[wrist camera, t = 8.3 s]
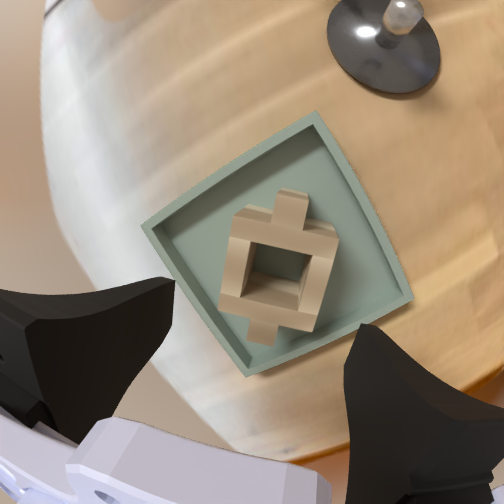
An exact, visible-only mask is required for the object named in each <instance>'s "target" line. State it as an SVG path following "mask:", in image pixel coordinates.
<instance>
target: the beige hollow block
mask: <svg viewBox="0 0 504 504" xmlns="http://www.w3.org/2000/svg"><path fill="white" fill-rule="evenodd" d="M308 203H309V198H308V193H306V192H301V191H297V190H292V189H288V188H283V187H282V188H281V189H280V191H279V192H278V193H277V194H276V199H275V204H274V209H268V208H264V207H259V206H254V205H250V204H248V205H247V206H245V207H244V208H243V209H241V210H240V211H239V212H237V213H236V214H235V215H233V219H232V225H231V231H230V237H229V242H228V248H227V254H226V260H225V266H224V272H223V278H222V285H221V291H220V297H219V303H218V310H219V311H223V312H227V313H230V314H234V315H238V316H242V317H247V318H251V319H250V323H249V328H248V333H247V337H246V340H247V341H251V342H255V343H259V344H263V345H267V346H272V347H273V345H274V341H275V337H276V334H277V330H278V326H279V325H280V326H285V327H289V328H294V329H299V330H303V331H308V332H312V331H313V328H314V325H315V322H316V319H317V316H318V312H319V309H320V306H321V303H322V299H323V296H324V293H325V289H326V286H327V283H328V279H329V276H330V272H331V269H332V265H333V262H334V258H335V254H336V251H337V247H338V243H339V237H338V235H337V233H336V231H335V229H334V227H333V225H332V223H330V222H326V221H322V220H317V219H313V218H309V217H306V212H307V208H308ZM258 243H261V244H265V245H270V246H274V247H278V248H283V249H287V250H292V251H296V252H300V253H305V254H306V257H305V261H304V265H303V269H302V273H301V277H300V281H296V280H292V279H287V278H283V277H278V276H274V275H270V274H265V273H261V272H257V271H253V267H254V262H255V257H256V252H257V247H258Z"/></svg>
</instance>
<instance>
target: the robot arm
mask: <svg viewBox="0 0 504 504" xmlns="http://www.w3.org/2000/svg"><path fill="white" fill-rule="evenodd" d="M174 291H175V280H172V279H168V278H164V277H155V278H150V279H146V280H142V281H138V282H135V283H131V284H127V285H123V286H119V287H115V288H110V289H106V290H101V291H96V292H90V293H81V294H67V295H38V294H27V293H20V292H13V291H8V290H3V289H0V488H1V489H2V490H3V491H4V492H5V493H6V494H8V495H9V496H10V497H11V498H12V499H13V500H14V501H16V502H17V504H331V499H332V498H331V497H332V495H331V492H332V489H331V488H332V485H331V484H330V483H329V482H328V481H326V480H325V479H324V478H323V477H322V476H321V475H320V474H319V473H317V472H316V471H314V470H312V469H308V468H305V467H301V466H298V465H295V464H291V463H288V462H284V461H279V460H273V459H268V458H262V457H257V456H253V455H248V454H244V453H239V452H235V451H231V450H226V449H223V448H219V447H215V446H212V445H208V444H205V443H201V442H198V441H195V440H192V439H188V438H185V437H182V436H179V435H175V434H173V433H170V432H167V431H164V430H162V429H159V428H156V427H154V426H151V425H148V424H146V423H142V422H138V421H133V420H129V419H125V418H121V417H112V415H113V413H114V411H115V409H116V408H117V406H118V404H119V402H120V401H121V399H122V397H123V395H124V394H125V392H126V390H127V389H128V387H129V386H130V384H131V383H132V381H133V380H134V378H135V377H136V376H137V375H138V373H139V372H140V371H141V370H142V368H143V367H144V366H145V364H146V363H147V362H148V361H149V360H150V358H151V357H152V356H153V354H154V353H155V352H156V351H157V349H158V348H159V347H160V345H161V344H162V342H163V341H164V339H165V337H166V335H167V334H168V332H169V330H170V328H171V326H172V317H173V303H174ZM344 394H345V401H346V409H347V416H348V424H349V433H350V461H349V475H348V486H347V494H346V501H345V504H504V484H503V485H500V486H498V487H496V488H494V489H493V490H491V489H490V486H489V483H491V482H492V481H493V479H494V477H493V474H492V470H493V469H494V468H495V467H496V466H497V464H498V463H499V462H500V461H501V460H502V459H503V458H504V408H501V407H497V406H494V405H491V404H488V403H485V402H483V401H480V400H478V399H475V398H473V397H471V396H469V395H467V394H465V393H462V392H461V391H459V390H457V389H455V388H453V387H452V386H450V385H448V384H446V383H445V382H443V381H442V380H440V379H439V378H437V377H436V376H434V375H433V374H431V373H430V372H429V371H427V370H426V369H425V368H423V367H422V366H421V365H420V364H419V363H417V362H416V361H415V360H414V359H413V358H411V357H410V356H409V355H408V354H407V353H406V352H405V351H404V350H403V349H401V348H400V347H399V346H398V345H397V344H396V343H395V342H394V341H393V340H392V339H391V338H390V337H389V336H388V335H386V334H385V333H384V332H383V331H382V330H381V329H379V328H378V327H377V326H374V325H369V324H363V323H361V324H360V327H359V329H358V332H357V335H356V337H355V340H354V342H353V345H352V347H351V350H350V352H349V355H348V357H347V359H346V362H345V364H344Z"/></svg>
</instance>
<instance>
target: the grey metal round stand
mask: <svg viewBox="0 0 504 504" xmlns="http://www.w3.org/2000/svg"><path fill="white" fill-rule="evenodd" d="M423 14H424V10H423V7H422V5H421V4H420V2H419V1H418V0H342V1H340V2H339V3H338V4H337V5H336V6H335V7H334V9H333V10H332V12H331V14H330V16H329V19H328V24H327V39H328V44H329V47H330V49H331V51H332V54H333V56H334V57H335V59H336V60H337V62H338V63H339V64H340V66H341V67H342V68H343V69H344V70H345V71H346V72H347V73H348V74H349V75H350V76H352V77H353V78H354V79H356V80H357V81H359V82H360V83H362V84H364V85H366V86H368V87H370V88H372V89H375V90H378V91H381V92H385V93H391V94H403V93H409V92H413V91H415V90H418V89H420V88H421V87H423V86H425V85H426V84H427V83H429V82H430V81H431V80H432V78H433V77H434V76H435V74H436V72H437V70H438V67H439V63H440V48H439V44H438V40H437V38H436V35H435V33H434V31H433V29H432V28H431V26H430V25H429V23H428V22H427V21H426V20H425V18H424V17H423Z"/></svg>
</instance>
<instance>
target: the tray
mask: <svg viewBox="0 0 504 504" xmlns="http://www.w3.org/2000/svg"><path fill="white" fill-rule="evenodd" d="M282 187H283V188H288V189H292V190H297V191H301V192H306V193H308V198H309V203H308V208H307V212H306V217H309V218H313V219H317V220H322V221H326V222H330V223H332V225H333V227H334V229H335V231H336V233H337V235H338V237H339V243H338V247H337V251H336V254H335V258H334V262H333V265H332V269H331V272H330V276H329V279H328V283H327V286H326V289H325V293H324V296H323V299H322V303H321V306H320V309H319V312H318V316H317V319H316V322H315V325H314V328H313V331H312V332H308V331H303V330H299V329H294V328H289V327H285V326H280V325H279V326H278V330H277V334H276V337H275V341H274V345H273V347H272V346H267V345H263V344H259V343H255V342H251V341H247V340H246V337H247V333H248V328H249V323H250V319H251V318H247V317H242V316H238V315H234V314H230V313H227V312H223V311H219V310H218V303H219V297H220V291H221V285H222V278H223V272H224V266H225V260H226V254H227V248H228V242H229V237H230V231H231V225H232V219H233V215H235V214H236V213H237V212H239V211H240V210H241V209H243V208H244V207H245V206H247V205H248V204H250V205H254V206H259V207H264V208H268V209H274V204H275V199H276V194H277V193H278V192H279V191H280V189H281V188H282ZM140 226H141V228H142V229H143V231H144V233H145V234H146V236H147V237H148V239H149V241H150V242H151V244H152V245H153V247H154V249H155V250H156V252H157V253H158V255H159V256H160V258H161V259H162V261H163V263H164V264H165V266H166V267H167V269H168V270H169V272H170V273H171V275H172V276H173V278H174V279H175V281H176V282H177V284H178V285H179V287H180V288H181V290H182V291H183V292H184V294H185V295H186V297H187V298H188V300H189V301H190V303H191V304H192V305H193V307H194V308H195V310H196V311H197V313H198V314H199V315H200V317H201V318H202V320H203V321H204V322H205V324H206V325H207V327H208V328H209V329H210V331H211V332H212V334H213V335H214V336H215V338H216V339H217V340H218V342H219V343H220V344H221V346H222V347H223V348H224V350H225V351H226V352H227V354H228V355H229V356H230V358H231V359H232V360H233V362H234V363H235V364H236V366H237V367H238V368H239V369H240V371H241V372H242V373H243V375H244V376H245V377H249V376H251V375H254V374H257V373H259V372H262V371H264V370H267V369H269V368H272V367H274V366H277V365H279V364H282V363H284V362H287V361H289V360H291V359H294V358H296V357H298V356H301V355H303V354H305V353H308V352H310V351H312V350H314V349H317V348H319V347H321V346H323V345H325V344H328V343H330V342H332V341H334V340H336V339H338V338H340V337H342V336H345V335H347V334H349V333H351V332H353V331H355V330H357V329H359V327H360V324H361V323H363V324H369V323H371V322H373V321H375V320H376V319H378V318H380V317H382V316H384V315H386V314H388V313H390V312H391V311H393V310H395V309H397V308H399V307H401V306H402V305H404V304H406V303H408V302H410V301H411V300H413V299H414V296H413V294H412V291H411V289H410V286H409V284H408V281H407V279H406V277H405V274H404V272H403V270H402V267H401V265H400V263H399V260H398V258H397V256H396V254H395V252H394V249H393V247H392V245H391V243H390V241H389V239H388V237H387V234H386V232H385V230H384V228H383V226H382V224H381V222H380V220H379V218H378V216H377V214H376V212H375V210H374V208H373V206H372V204H371V202H370V201H369V199H368V197H367V195H366V193H365V191H364V189H363V187H362V186H361V184H360V182H359V180H358V178H357V177H356V175H355V173H354V171H353V169H352V168H351V166H350V164H349V162H348V161H347V159H346V157H345V156H344V154H343V152H342V151H341V149H340V147H339V146H338V144H337V142H336V141H335V139H334V137H333V136H332V134H331V133H330V131H329V129H328V128H327V126H326V125H325V123H324V122H323V120H322V118H321V117H320V115H319V114H318V112H317V111H314V112H312V113H310V114H308V115H307V116H305V117H303V118H301V119H300V120H298V121H296V122H294V123H293V124H291V125H289V126H288V127H286V128H284V129H283V130H281V131H279V132H278V133H276V134H274V135H273V136H271V137H269V138H268V139H266V140H264V141H263V142H261V143H259V144H258V145H256V146H255V147H253V148H251V149H250V150H248V151H247V152H245V153H244V154H242V155H240V156H239V157H237V158H236V159H234V160H233V161H231V162H230V163H228V164H227V165H225V166H224V167H222V168H221V169H219V170H218V171H216V172H215V173H213V174H212V175H210V176H209V177H207V178H206V179H204V180H203V181H201V182H200V183H198V184H197V185H195V186H194V187H193V188H191V189H190V190H188V191H187V192H185V193H184V194H183V195H181V196H180V197H178V198H177V199H176V200H174V201H173V202H171V203H170V204H169V205H167V206H166V207H165V208H163V209H162V210H160V211H159V212H158V213H156V214H155V215H154V216H152V217H151V218H150V219H148V220H147V221H146V222H144V223H143V224H142V225H140ZM305 257H306V254H305V253H300V252H296V251H292V250H287V249H283V248H278V247H274V246H270V245H265V244H261V243H258V247H257V252H256V257H255V262H254V267H253V271H257V272H261V273H265V274H270V275H274V276H278V277H283V278H287V279H292V280H296V281H300V277H301V273H302V269H303V265H304V261H305Z"/></svg>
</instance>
